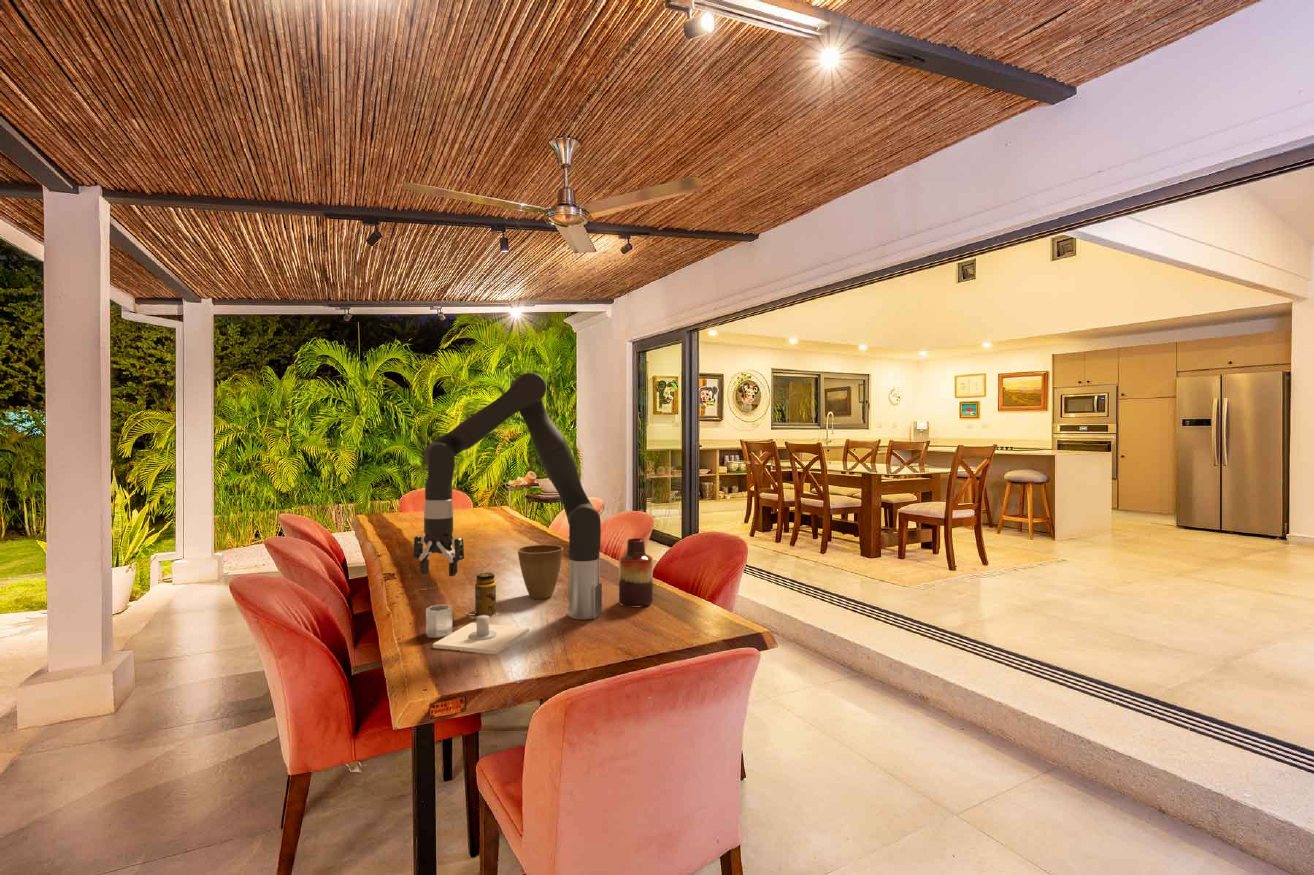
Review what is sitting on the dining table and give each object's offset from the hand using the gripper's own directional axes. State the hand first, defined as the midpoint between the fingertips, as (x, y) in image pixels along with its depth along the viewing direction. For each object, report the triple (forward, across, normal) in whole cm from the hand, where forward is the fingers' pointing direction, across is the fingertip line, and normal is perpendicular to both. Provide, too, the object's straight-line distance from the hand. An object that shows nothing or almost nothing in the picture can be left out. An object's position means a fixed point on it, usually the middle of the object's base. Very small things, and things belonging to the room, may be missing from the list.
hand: (438, 574), depth 172 cm
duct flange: (+16, -14, +1) cm, 21 cm away
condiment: (+16, -2, -19) cm, 25 cm away
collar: (+16, 0, 0) cm, 16 cm away
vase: (+16, -43, -43) cm, 63 cm away
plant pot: (+16, -10, -42) cm, 46 cm away
